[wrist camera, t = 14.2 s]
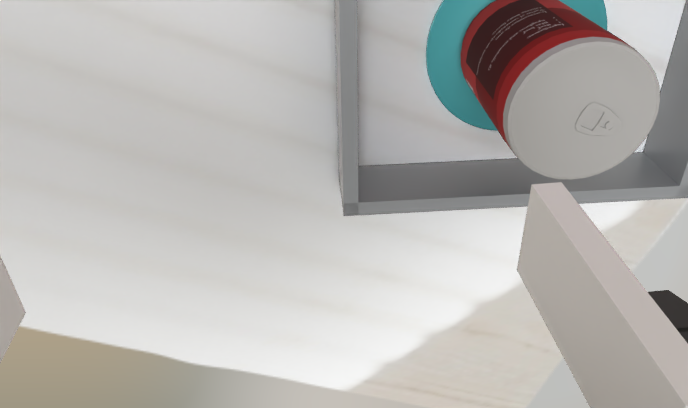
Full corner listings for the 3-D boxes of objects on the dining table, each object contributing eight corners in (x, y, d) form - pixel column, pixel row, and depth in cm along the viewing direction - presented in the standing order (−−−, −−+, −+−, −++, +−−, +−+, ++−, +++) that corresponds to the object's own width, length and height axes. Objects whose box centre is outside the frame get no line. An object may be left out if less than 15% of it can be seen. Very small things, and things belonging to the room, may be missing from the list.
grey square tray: (339, 179, 44) (343, 215, 40) (331, -109, 34) (336, -101, 29) (652, 163, 45) (689, 197, 41) (737, -120, 35) (797, -114, 31)
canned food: (557, 106, 42) (631, 185, 32) (446, 98, 41) (490, 177, 31) (591, -7, 38) (688, 47, 28) (469, -18, 37) (528, 34, 27)
